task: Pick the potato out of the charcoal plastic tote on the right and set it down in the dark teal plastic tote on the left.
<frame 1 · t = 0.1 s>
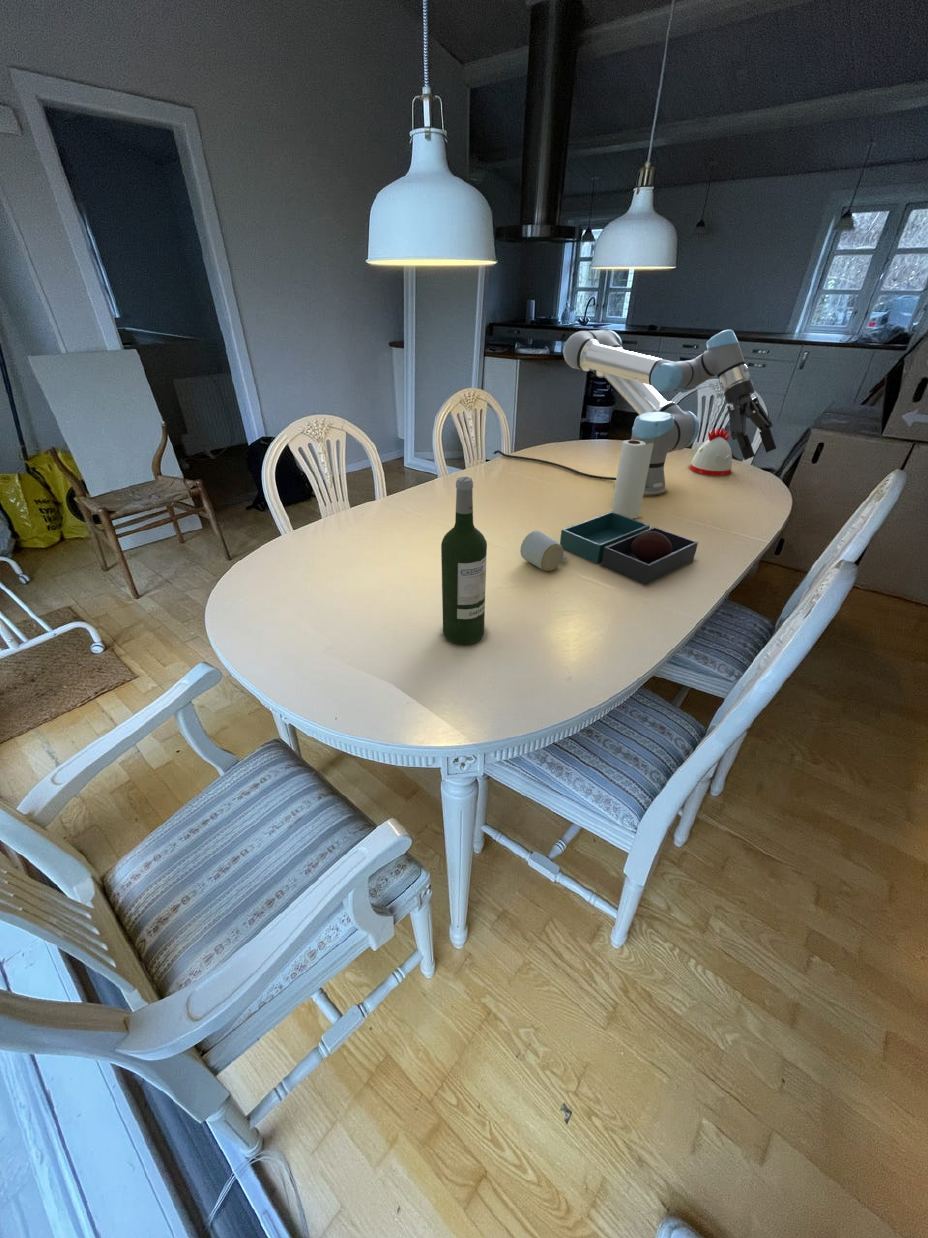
hand: (760, 454, 150), 15 cm above the table, tool tilted 35°, fingers open, 13 cm apart
wine bottle: (463, 634, 97), on the table
ceramic mug: (544, 564, 123), on the table
left tote: (603, 545, 132), on the table
kitchen timer: (709, 470, 188), on the table
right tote: (647, 563, 123), on the table
paper towel roll: (622, 517, 148), on the table
potato: (647, 562, 123), resting on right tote
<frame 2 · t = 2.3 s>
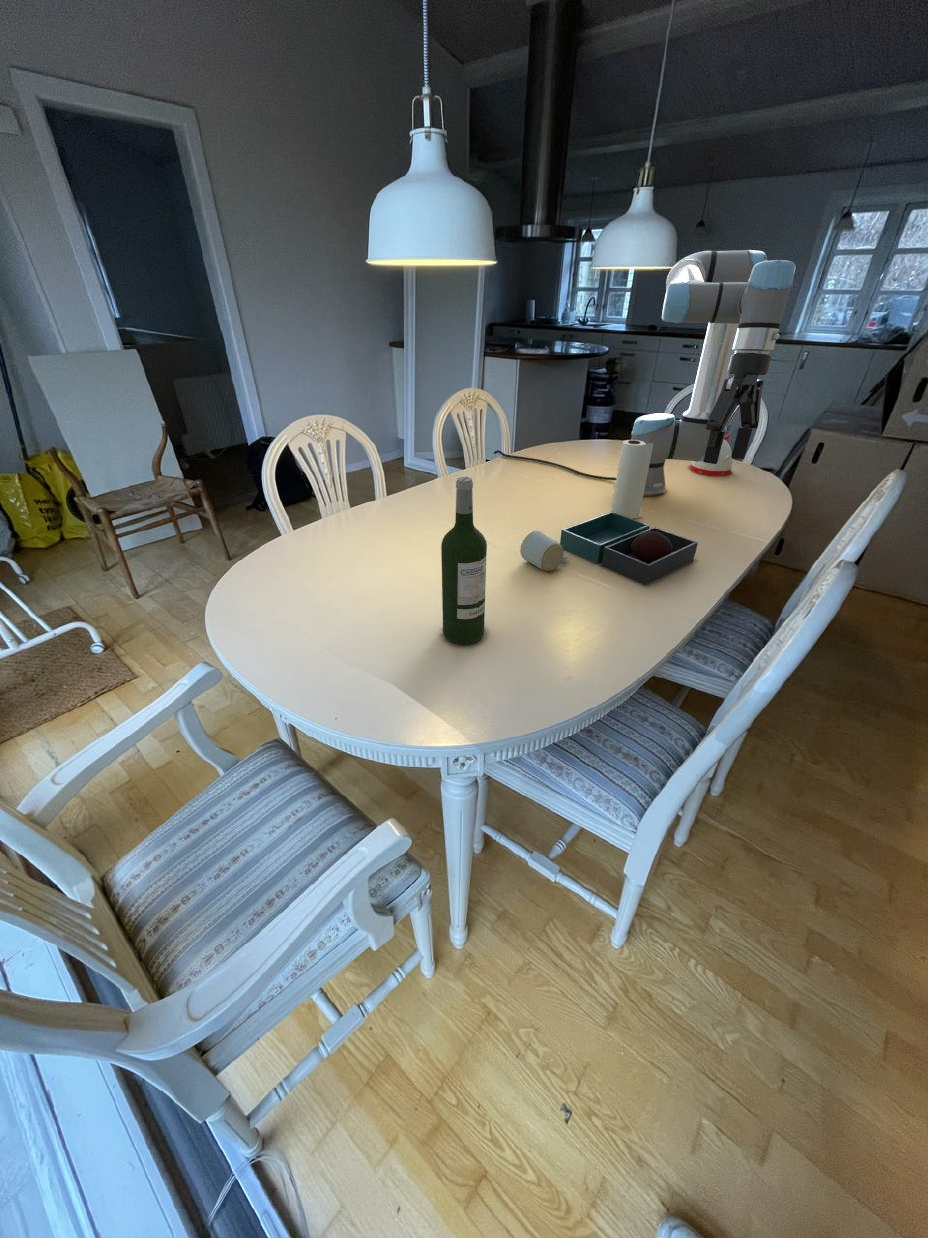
hand: (724, 460, 113), 24 cm above the table, tool pointing down, fingers open, 13 cm apart
nothing on the table moved.
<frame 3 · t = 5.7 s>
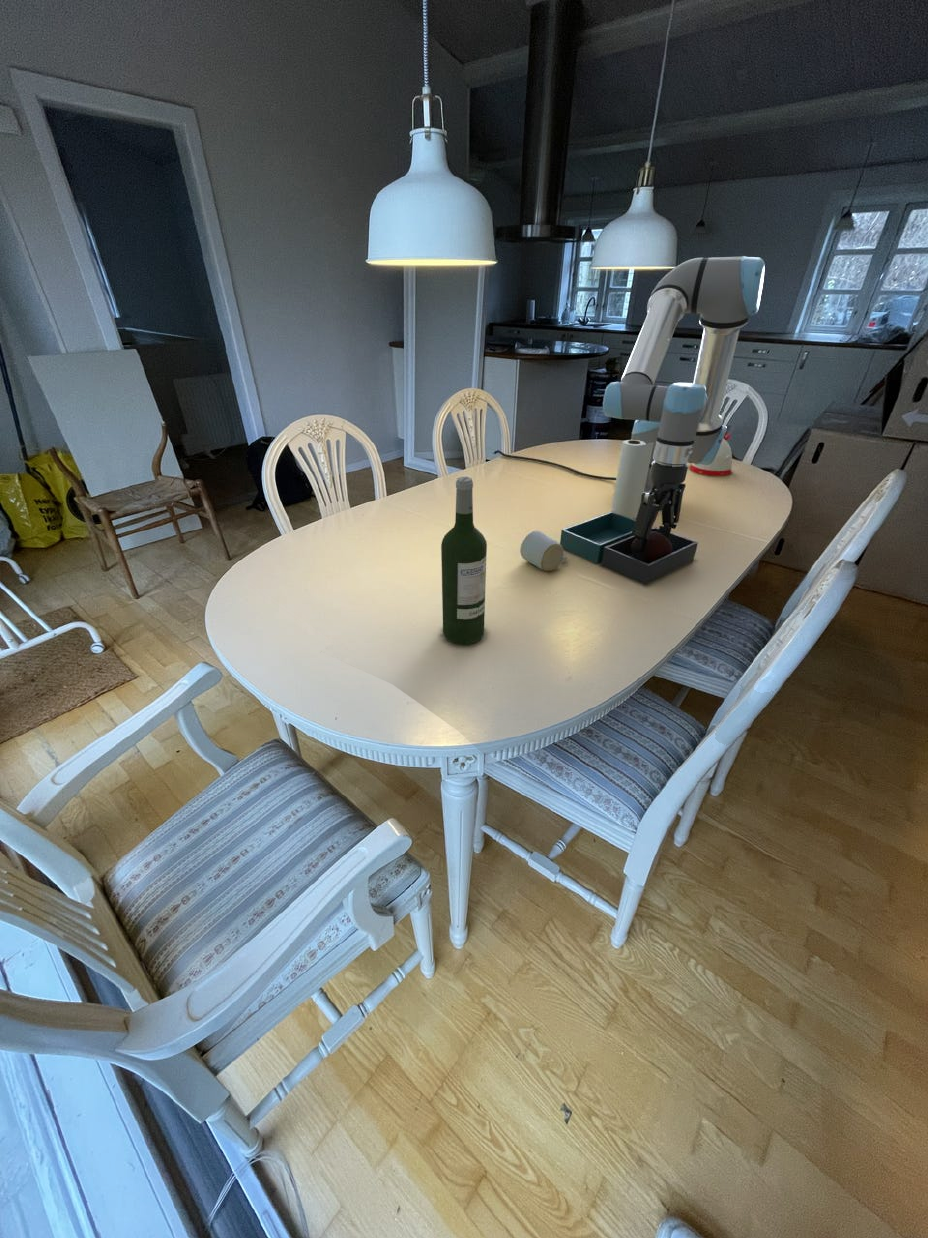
hand: (649, 557, 122), 2 cm above the table, tool pointing down, fingers closed on potato, 8 cm apart
potato: (647, 562, 123), resting on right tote, touching gripper
everything else where it was.
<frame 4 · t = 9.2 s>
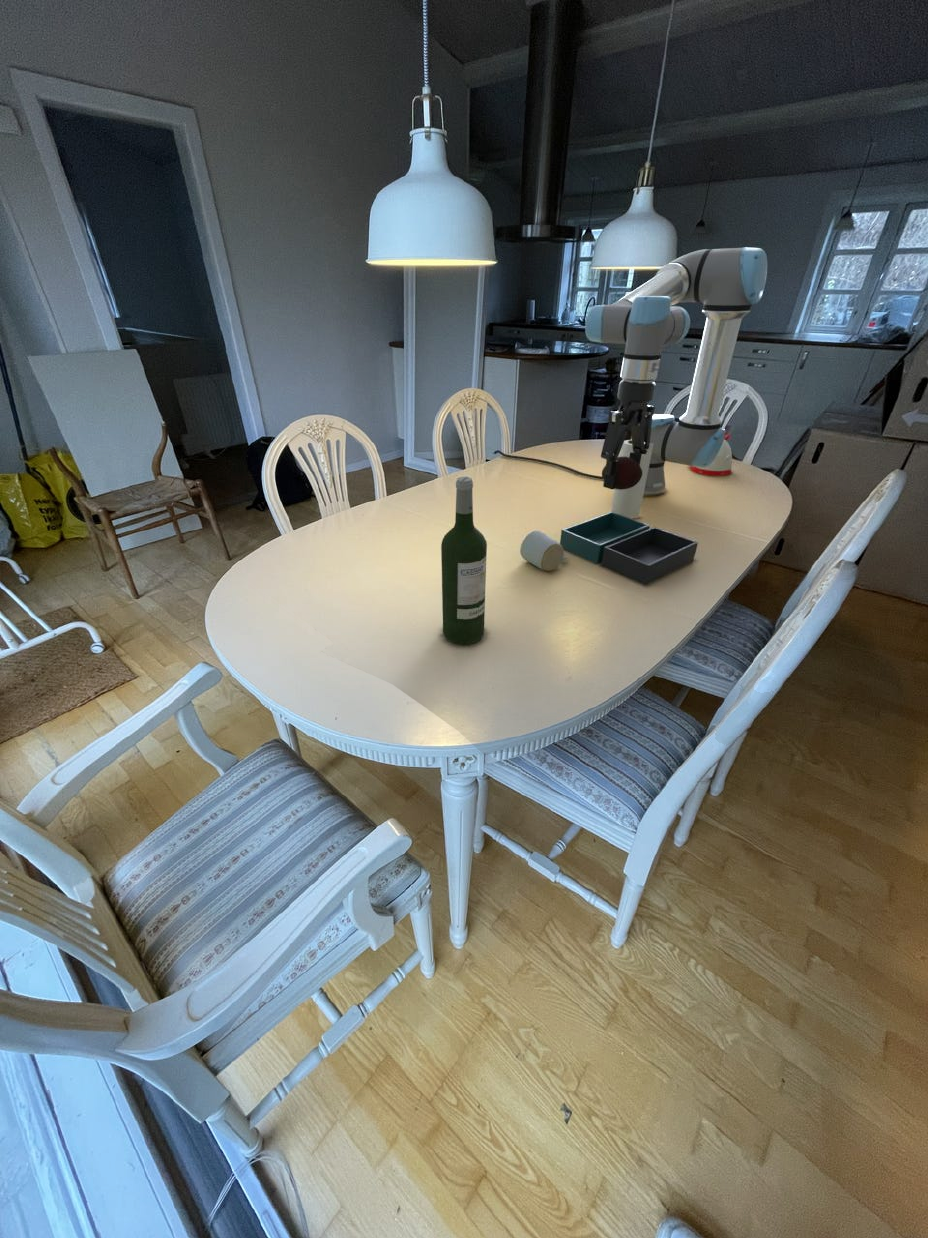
hand: (619, 483, 122), 17 cm above the table, tool pointing down, fingers closed on potato, 8 cm apart
potato: (618, 489, 122), point 15 cm above the table, touching gripper
everything else where it was.
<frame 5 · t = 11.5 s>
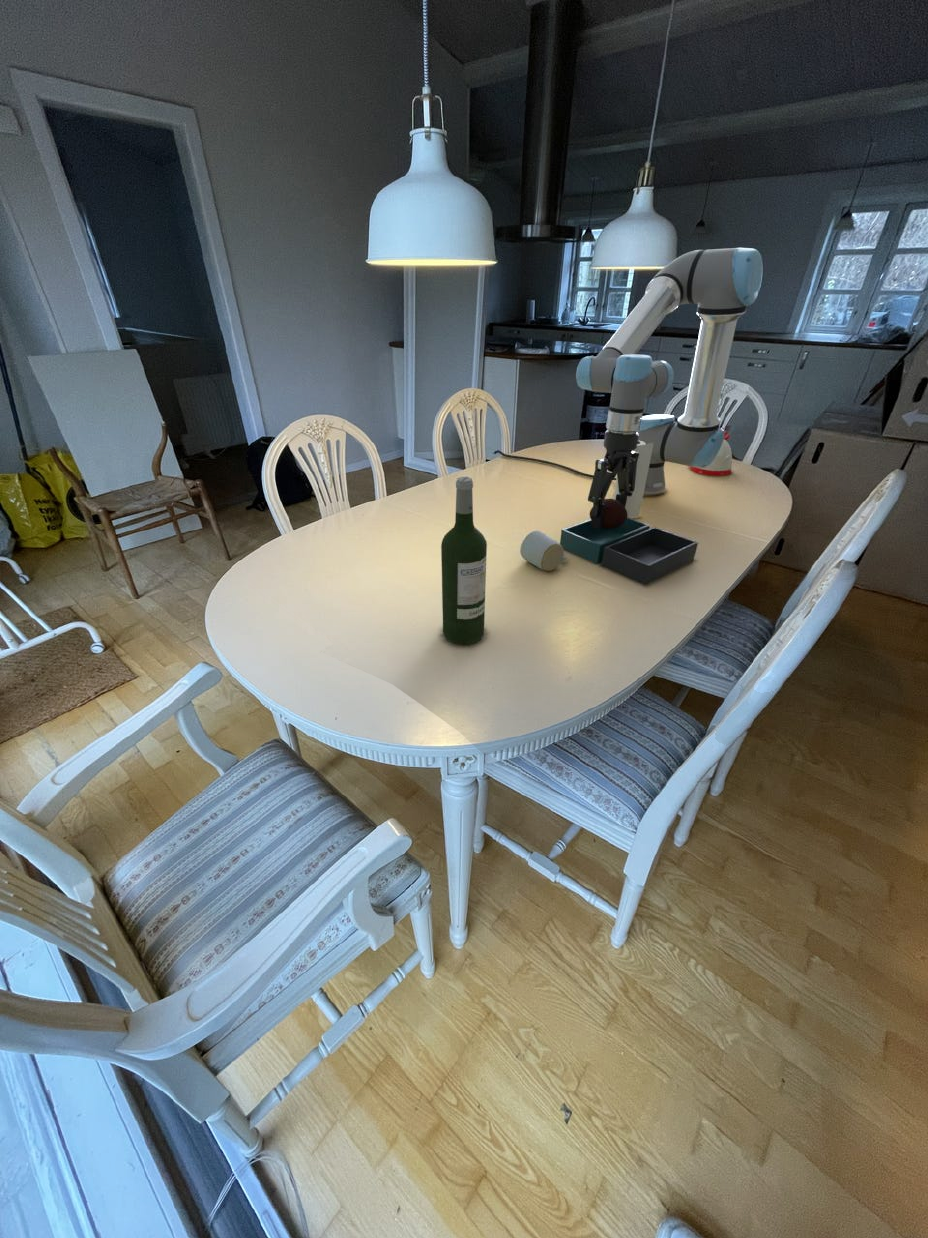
hand: (606, 523, 129), 6 cm above the table, tool pointing down, fingers closed on potato, 8 cm apart
potato: (605, 529, 129), point 4 cm above the table, touching gripper
everything else where it was.
when the fingers open (2 cm above the table, at t = 13.0 s): potato stays where it is, resting on left tote.
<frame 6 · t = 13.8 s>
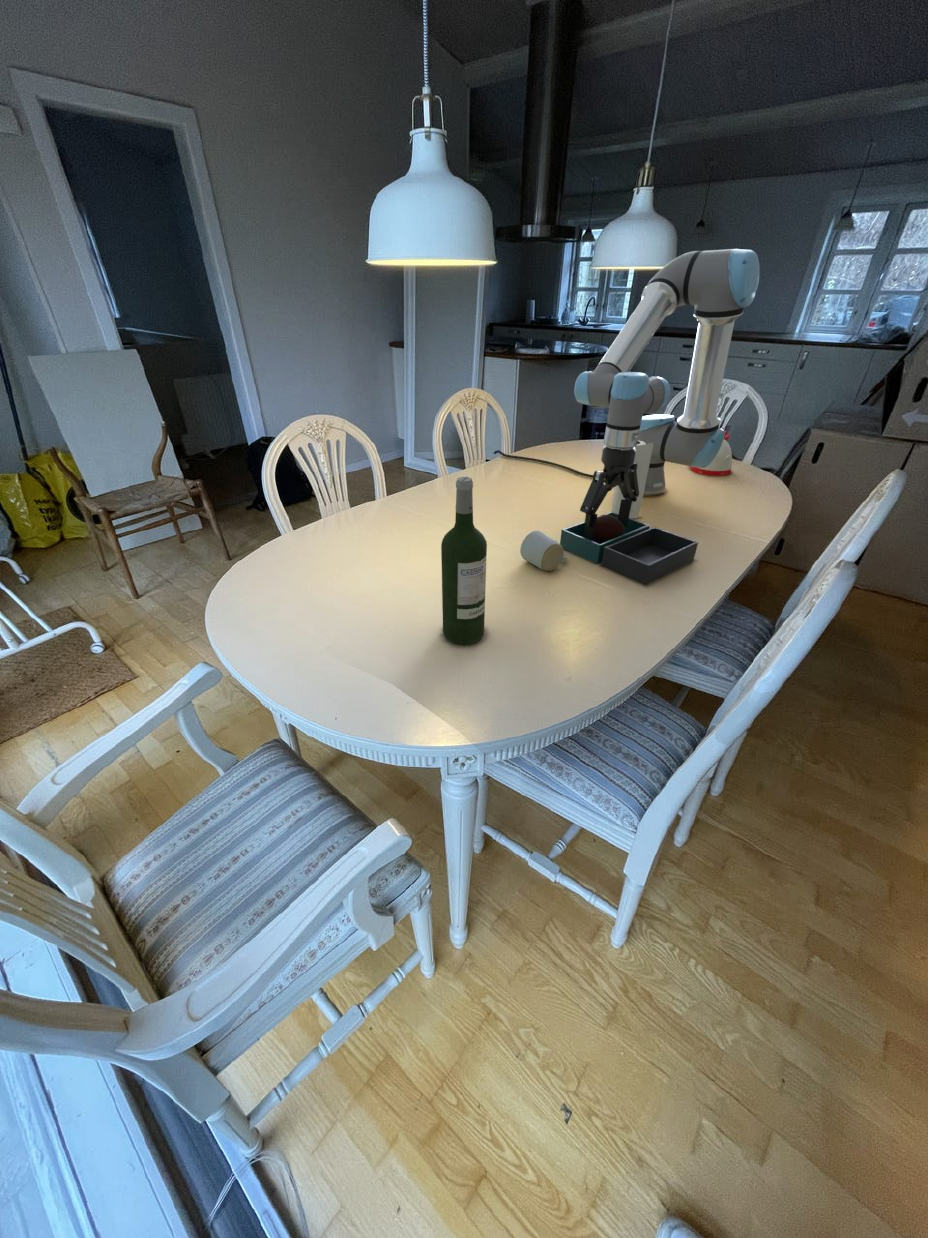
hand: (605, 531, 130), 4 cm above the table, tool pointing down, fingers open, 13 cm apart
potato: (603, 544, 132), resting on left tote
everything else where it was.
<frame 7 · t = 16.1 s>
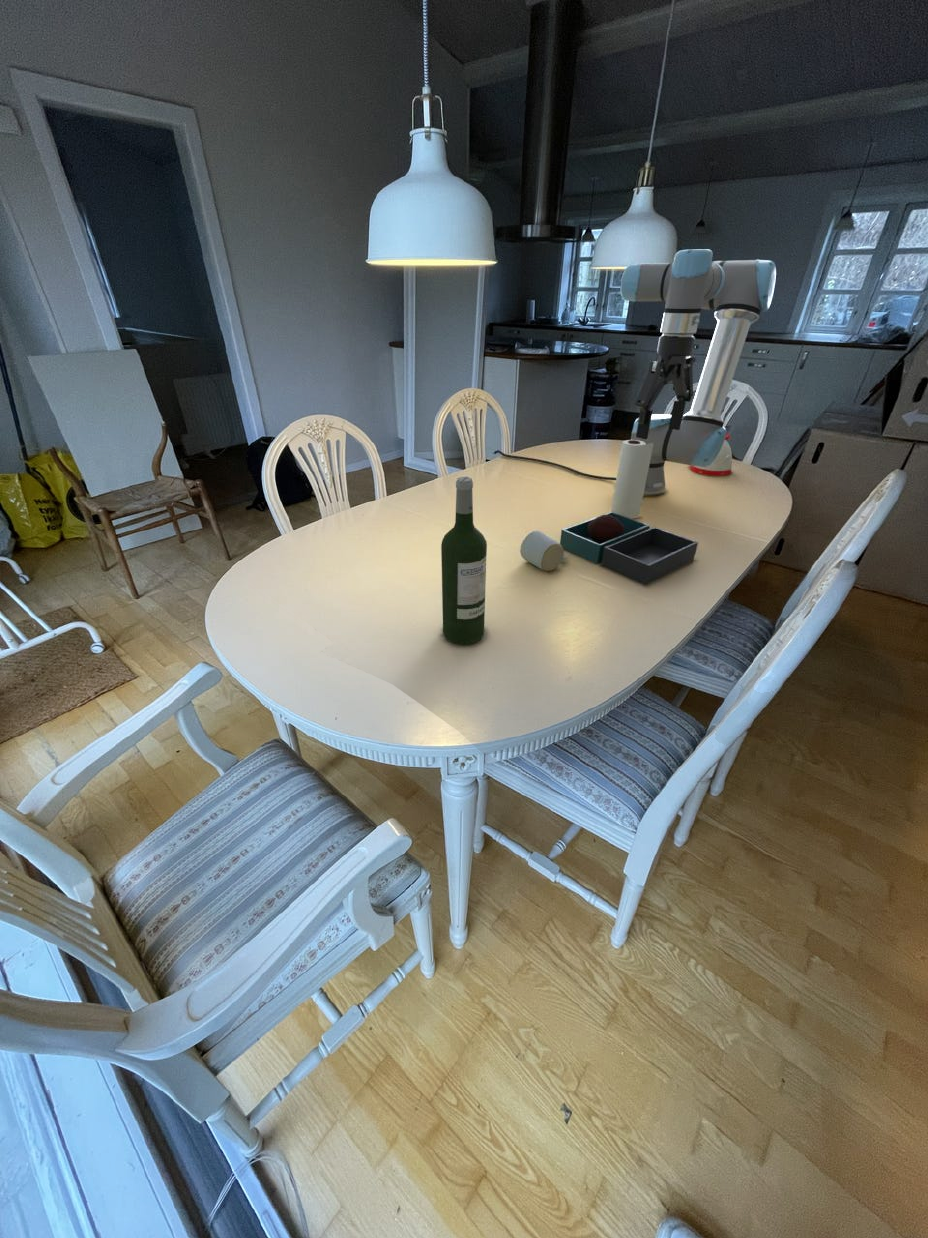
hand: (658, 433, 125), 26 cm above the table, tool pointing down, fingers open, 13 cm apart
nothing on the table moved.
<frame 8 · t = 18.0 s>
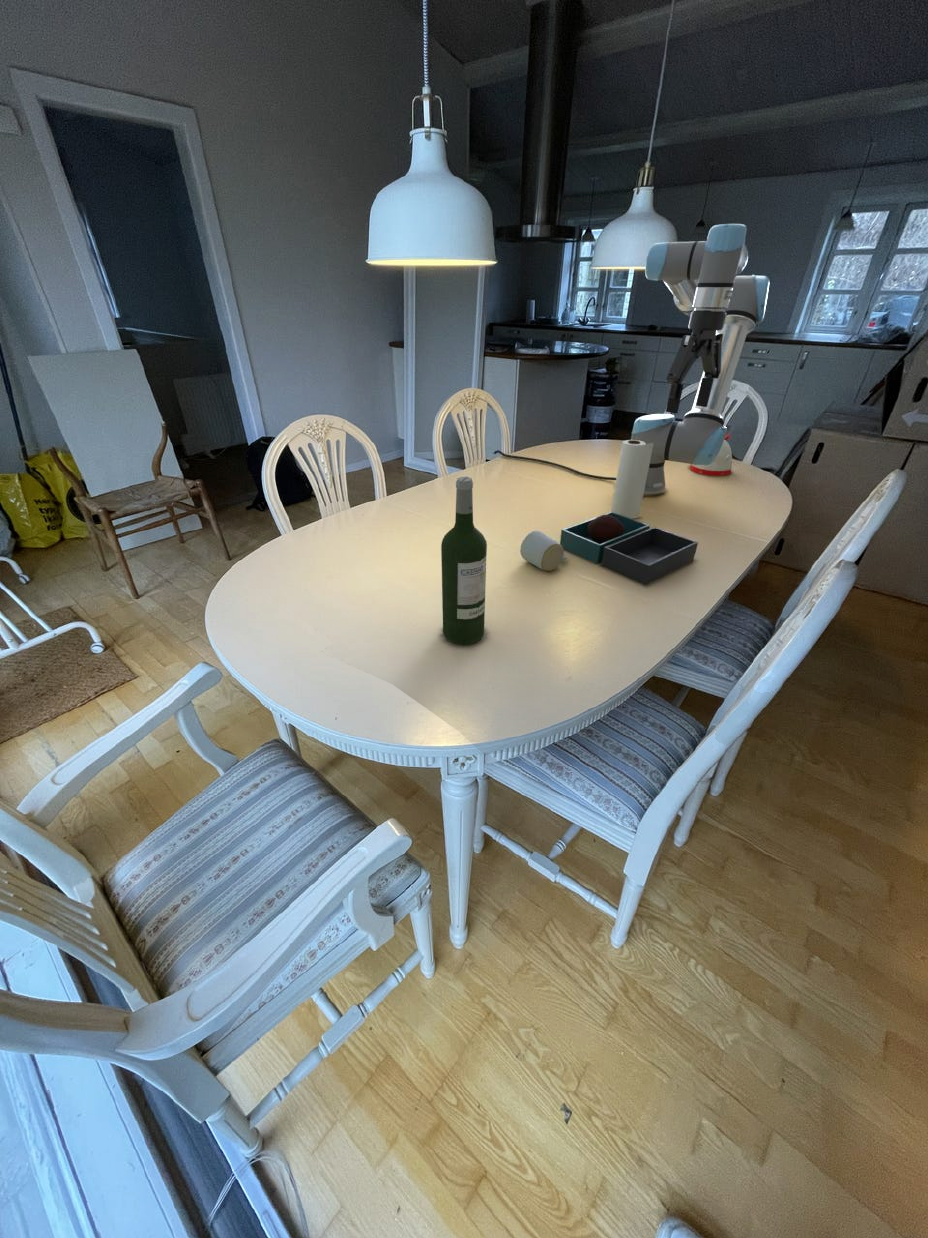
hand: (686, 409, 127), 31 cm above the table, tool pointing down, fingers open, 13 cm apart
nothing on the table moved.
at the end: potato inside the target area in the left tote (0.0 cm from its centre), point 0.2 cm above the left tote's base; potato touching left tote; the gripper is holding nothing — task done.
